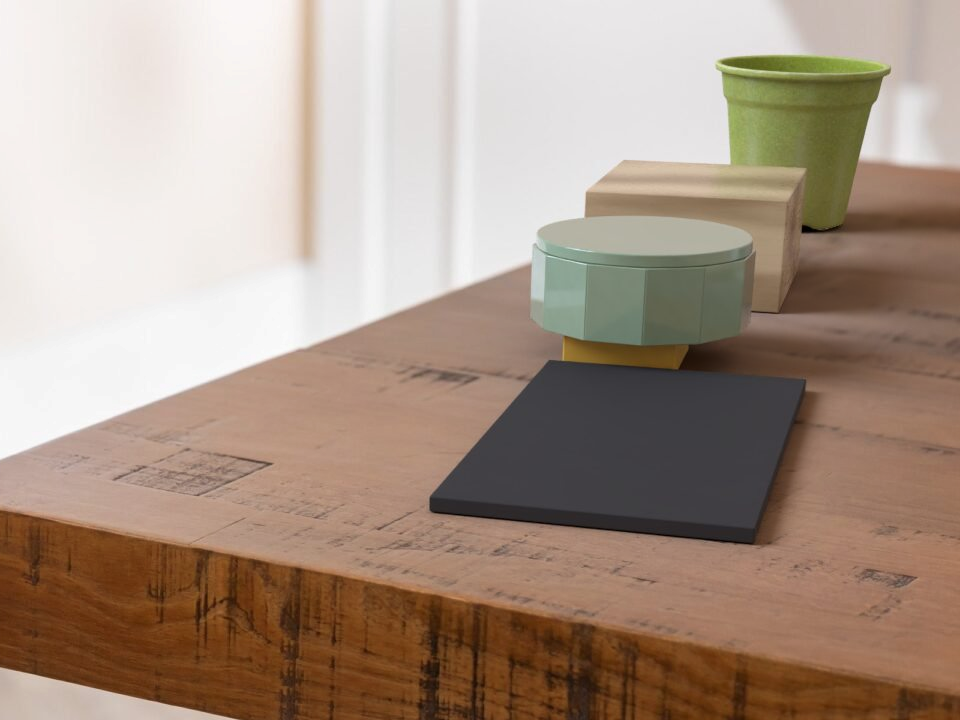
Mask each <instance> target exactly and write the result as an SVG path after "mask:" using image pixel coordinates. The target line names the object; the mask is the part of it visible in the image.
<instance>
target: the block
mask: <svg viewBox="0 0 960 720" xmlns="http://www.w3.org/2000/svg"><path fill="white" fill-rule="evenodd" d="M562 336H563V338H562V341H563V342H562V360H561V361H572V362H586V363H599V364H612V365H626V366H639V367H652V368H666V369H680V366H681V365H682V362H683V360H684V358H685V357H686V355H687V353H688V351H689V345H690V344H689V345H660V346H635V345H624V344H613V343H602V342H591V341H583V340H579V339H575V338H572V337H568V336H564V335H562Z"/></svg>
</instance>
